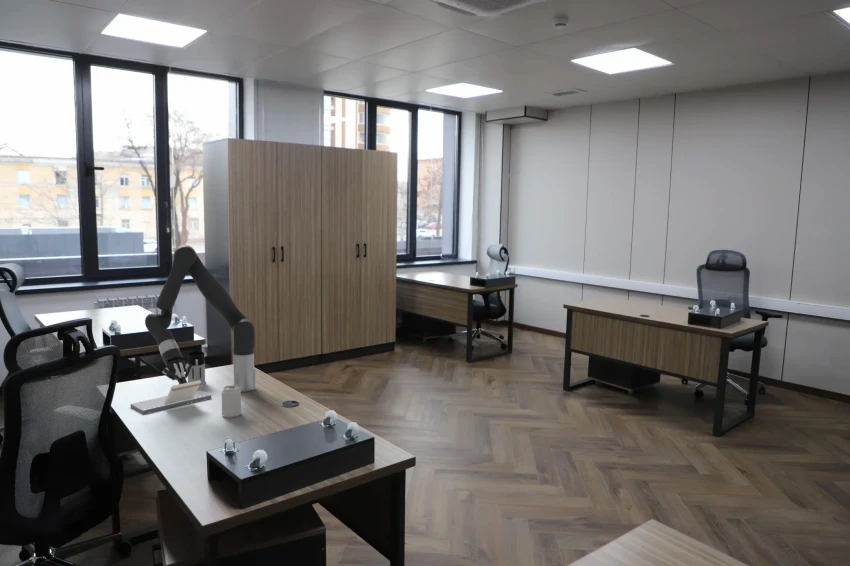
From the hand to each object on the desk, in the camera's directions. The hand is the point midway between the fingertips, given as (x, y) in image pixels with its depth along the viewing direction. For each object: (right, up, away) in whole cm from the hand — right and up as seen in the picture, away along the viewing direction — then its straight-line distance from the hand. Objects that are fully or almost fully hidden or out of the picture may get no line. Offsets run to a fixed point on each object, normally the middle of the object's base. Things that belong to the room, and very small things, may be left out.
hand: (184, 386), depth 250 cm
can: (+21, -11, -5) cm, 25 cm away
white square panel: (-5, -8, +5) cm, 10 cm away
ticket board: (-9, -9, +9) cm, 15 cm away
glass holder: (-8, -6, +35) cm, 36 cm away
